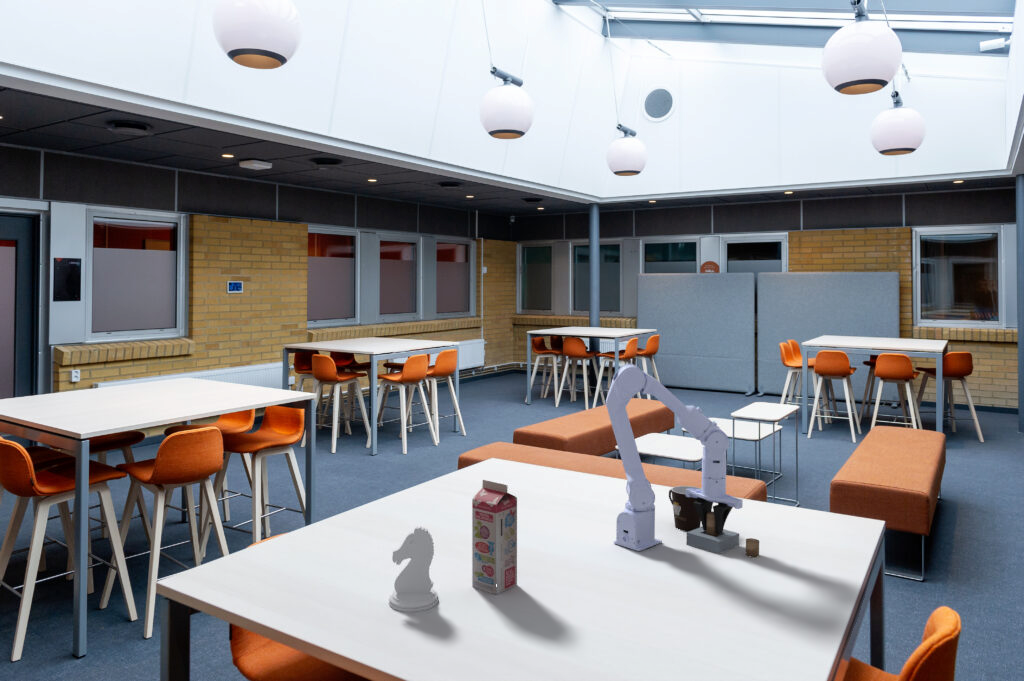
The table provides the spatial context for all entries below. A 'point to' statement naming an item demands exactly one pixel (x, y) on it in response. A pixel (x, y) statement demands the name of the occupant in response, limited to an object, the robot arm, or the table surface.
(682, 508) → the coffee mug
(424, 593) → the chess piece
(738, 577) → the table surface
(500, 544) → the juice carton
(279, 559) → the table surface
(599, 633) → the table surface
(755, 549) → the short dowel
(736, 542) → the hole block
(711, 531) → the long dowel
